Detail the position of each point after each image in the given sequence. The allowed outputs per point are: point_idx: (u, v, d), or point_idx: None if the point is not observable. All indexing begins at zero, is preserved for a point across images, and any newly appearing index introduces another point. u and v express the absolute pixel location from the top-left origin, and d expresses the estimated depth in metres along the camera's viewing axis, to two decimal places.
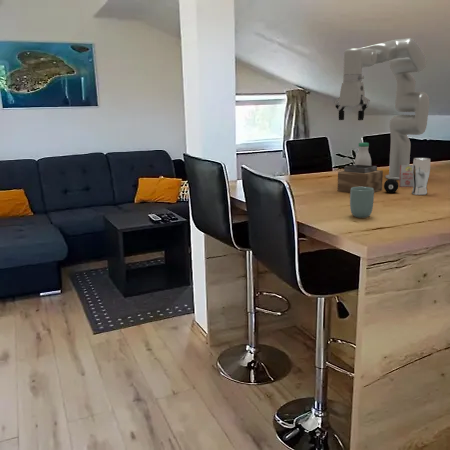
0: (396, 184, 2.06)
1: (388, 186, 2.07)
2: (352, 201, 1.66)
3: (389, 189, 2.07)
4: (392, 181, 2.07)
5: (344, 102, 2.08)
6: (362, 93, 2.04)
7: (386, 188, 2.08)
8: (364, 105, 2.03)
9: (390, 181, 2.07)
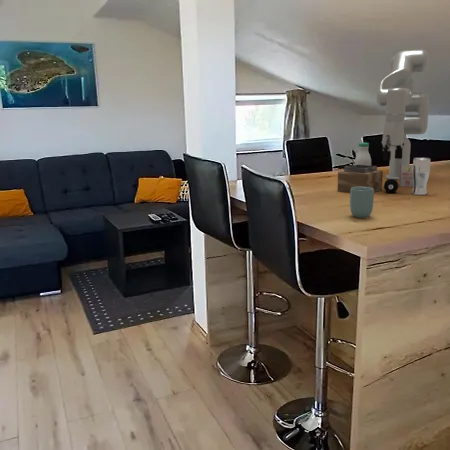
0: (396, 184, 2.06)
1: (388, 186, 2.07)
2: (352, 201, 1.66)
3: (389, 189, 2.07)
4: (392, 181, 2.07)
5: (395, 142, 2.01)
6: None
7: (386, 188, 2.08)
8: (403, 144, 2.08)
9: (390, 181, 2.07)
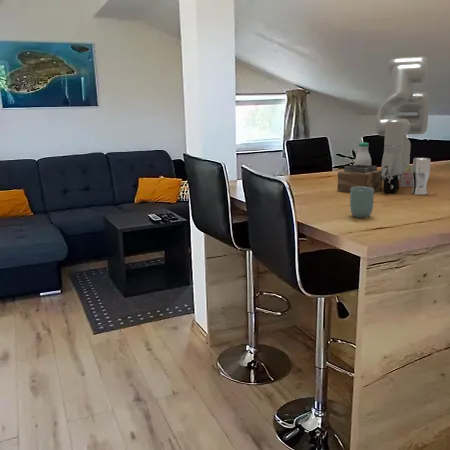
0: (396, 184, 2.06)
1: None
2: (352, 201, 1.66)
3: None
4: (392, 181, 2.07)
5: (394, 172, 2.05)
6: None
7: None
8: (400, 175, 2.11)
9: (390, 181, 2.07)
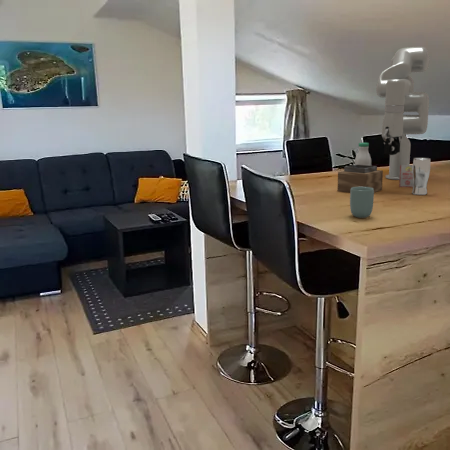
0: (397, 146, 2.03)
1: None
2: (352, 201, 1.66)
3: None
4: (393, 143, 2.03)
5: (395, 133, 2.01)
6: None
7: None
8: (401, 137, 2.07)
9: (391, 143, 2.03)
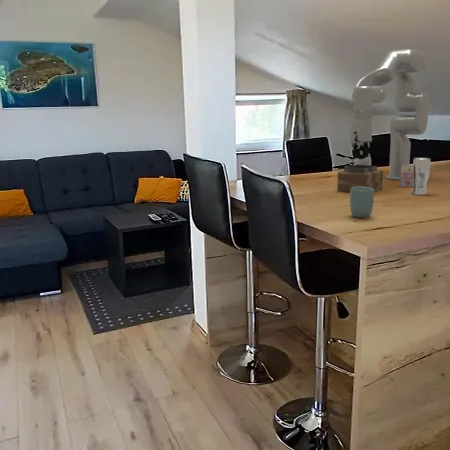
0: (365, 150, 2.10)
1: None
2: (352, 201, 1.66)
3: None
4: (361, 147, 2.10)
5: (363, 138, 2.08)
6: None
7: None
8: (370, 142, 2.14)
9: (360, 147, 2.10)
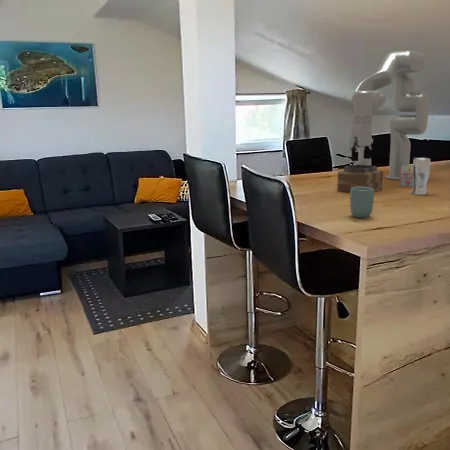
0: None
1: None
2: (352, 201, 1.66)
3: None
4: None
5: (363, 143, 2.08)
6: None
7: None
8: (371, 144, 2.16)
9: None
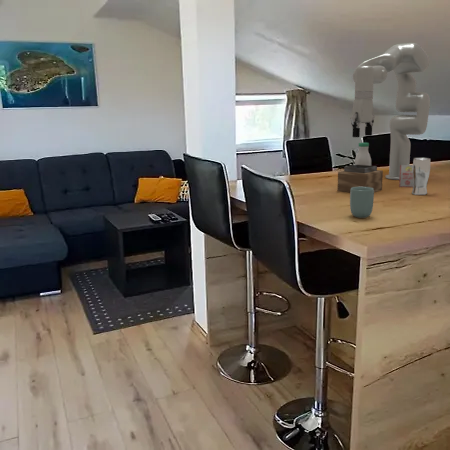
0: None
1: None
2: (352, 201, 1.66)
3: None
4: None
5: (364, 119, 2.06)
6: None
7: None
8: (373, 121, 2.13)
9: None
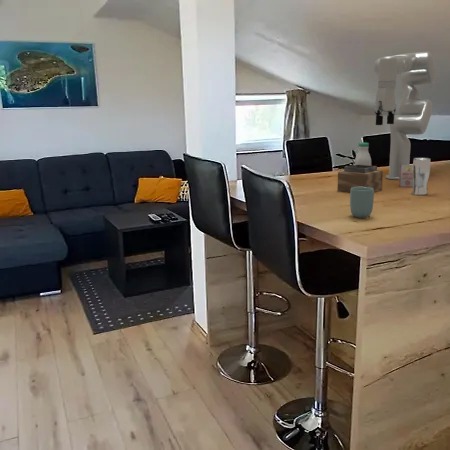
0: None
1: None
2: (352, 201, 1.66)
3: None
4: None
5: (387, 107, 2.15)
6: None
7: None
8: (395, 110, 2.22)
9: None
